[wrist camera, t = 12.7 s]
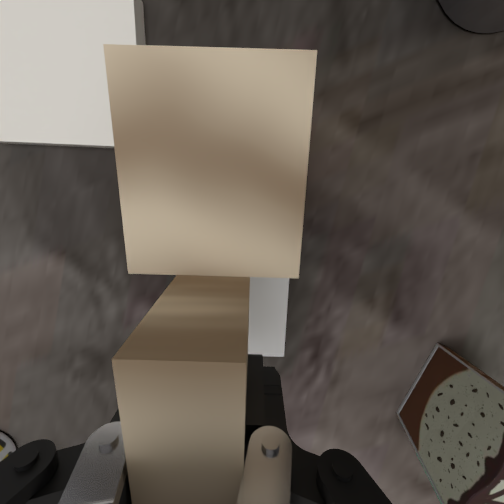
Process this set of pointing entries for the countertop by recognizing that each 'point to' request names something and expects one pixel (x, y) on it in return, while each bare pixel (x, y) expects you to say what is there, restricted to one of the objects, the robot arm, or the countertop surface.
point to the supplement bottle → (6, 446)
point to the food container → (457, 428)
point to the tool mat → (267, 316)
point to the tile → (61, 68)
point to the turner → (202, 246)
